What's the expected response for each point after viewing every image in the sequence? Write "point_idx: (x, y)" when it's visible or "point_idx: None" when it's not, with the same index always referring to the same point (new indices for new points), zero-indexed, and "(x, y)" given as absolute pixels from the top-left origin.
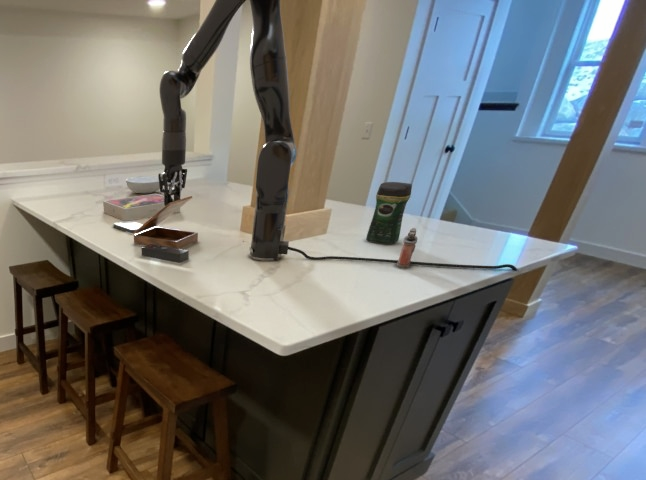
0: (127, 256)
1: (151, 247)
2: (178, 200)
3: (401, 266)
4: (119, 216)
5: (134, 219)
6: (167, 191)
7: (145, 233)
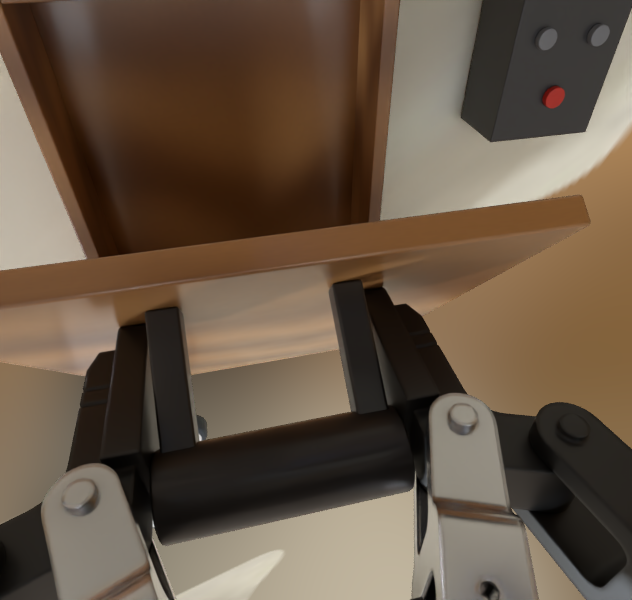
0: (546, 185)
1: (575, 72)
2: (343, 250)
3: None
4: None
5: None
6: (576, 419)
7: None
